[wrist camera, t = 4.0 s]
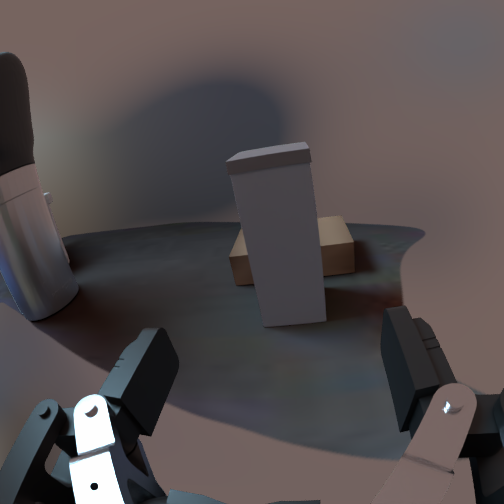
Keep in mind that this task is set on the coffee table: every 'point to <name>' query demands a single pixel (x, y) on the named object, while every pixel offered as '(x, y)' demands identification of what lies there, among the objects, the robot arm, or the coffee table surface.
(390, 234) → the coffee table surface
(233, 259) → the stand
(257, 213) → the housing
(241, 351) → the coffee table surface
